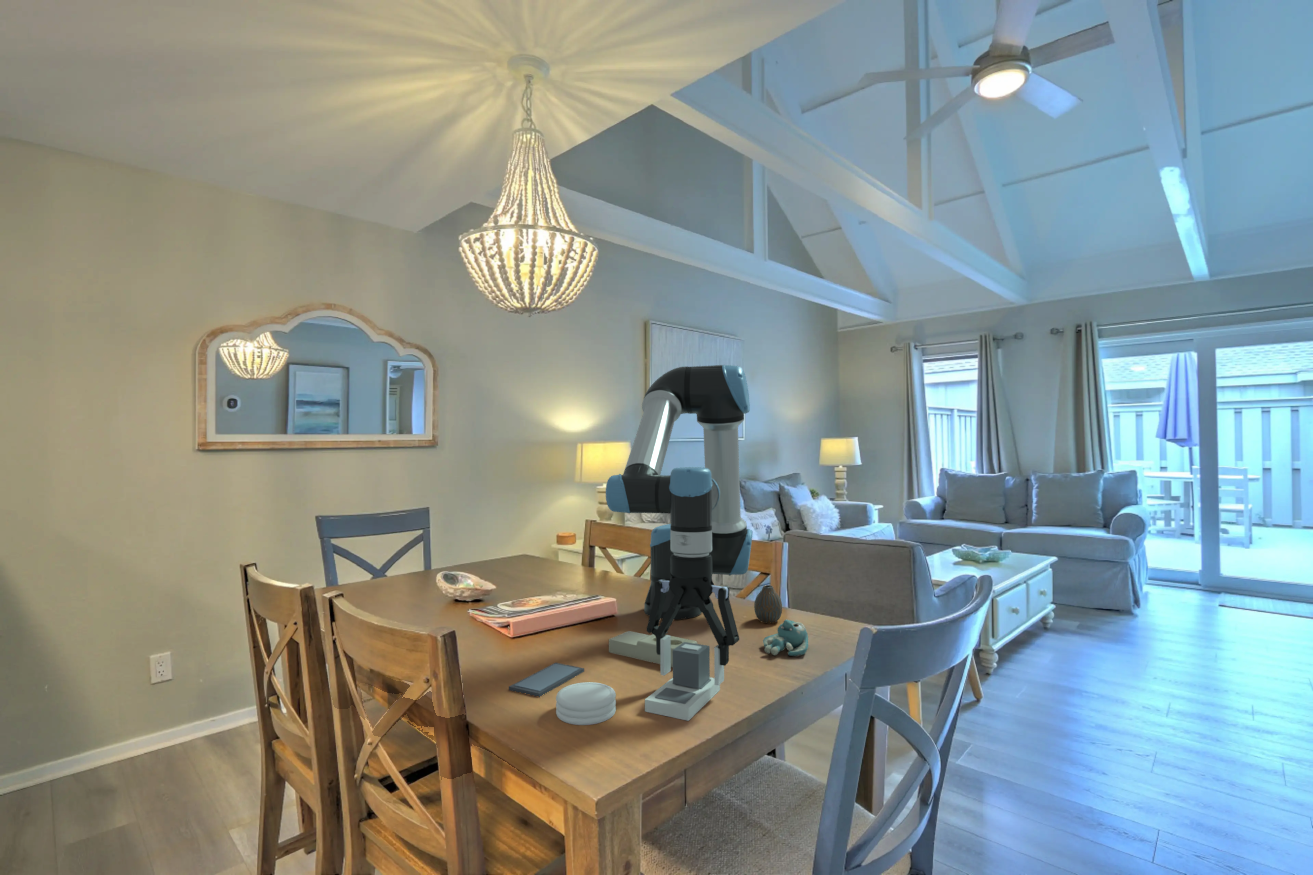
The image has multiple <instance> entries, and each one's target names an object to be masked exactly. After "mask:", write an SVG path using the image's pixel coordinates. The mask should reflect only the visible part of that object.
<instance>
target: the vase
mask: <svg viewBox="0 0 1313 875" xmlns="http://www.w3.org/2000/svg"><path fill="white" fill-rule="evenodd" d="M753 606H754V607H753V608H754V614H755V617H756V618H757V619H758V620H759V621H760V623H763V622H764V623H763V624H775V623H777V622H778V621H779V620H780V618H781V616H782V614H783V603H782V599H781V597H780V595H779V594H778V593H777V591H776V590H775V588H774V586H773V585H771V584H770V585H769V584H767V585H763V586H762V588H761V590H760V591H759V592H758V593H757V595H756V597H755V600H754V605H753Z"/></svg>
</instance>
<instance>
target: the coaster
mask: <svg viewBox="0 0 1313 875" xmlns="http://www.w3.org/2000/svg"><path fill="white" fill-rule="evenodd" d="M616 697H617V694H616V691H615V689H614V688H612V686H609V685H607V684H605V683H600V682H595V681H593V682H592V681H591V682H589V681H588V682H587V681H586V682H585V681H584V682H578V683H577V682H576V683H573V684H569V685H567V686H565V687H562V688H561V689H560V690H559V691H558V692H557V693H556V696H555V702H556V703H555V707H556V709H555V714H556V717H557V718H558V719H559V721H560V720H561V722H563V723H566V724H570V725H576V726H589V725H597V724H601V723H603V722H605V721H608V720H610V719H611V718H613V716H614V715H615V713H616V710H617V707H616V704H617V701H616Z"/></svg>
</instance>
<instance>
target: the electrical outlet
mask: <svg viewBox="0 0 1313 875" xmlns="http://www.w3.org/2000/svg"><path fill="white" fill-rule="evenodd" d="M670 636H671V668H673V649H675V648H676V647H678V646H679V645H681V644H682V643H684V642H688V643H694V644H699V643H698V641H696V640H694V639H689V638H688V639H687V638H683V637H678V636H673V635H670ZM608 653H610V654H615V655H619V656H622V657H628V658H632V659H636V660H639V661H645V662H649V663H652V662H653V663H652V664H658V665H661V661H660V655H657V652H656V636H655V635H654V634H652V633H651V634H645V633H642V632H641V633H639V632H636V631H630V630H628V631H625V632H623V633H620V634H618V635H616V636H613V637H610V638H609V639H608Z"/></svg>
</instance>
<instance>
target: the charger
mask: <svg viewBox="0 0 1313 875" xmlns="http://www.w3.org/2000/svg"><path fill="white" fill-rule="evenodd" d="M710 657H711V656H710V645H708V644H707V645H706V644H699V643H698V644H694V643H688V642H684V643H682V644H681V645H679V646H678V647H676V648H675V649H673V667H672V678H673V684H676V685H681V686H687V687H692V688H697V689H699V688H700V687H701V686H702V685H704V684H705V683H706V682H707V681H708V680H709V679H710V677H711V676H710V672H711V670H710V664H711V663H710V661H711V660H710Z"/></svg>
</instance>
